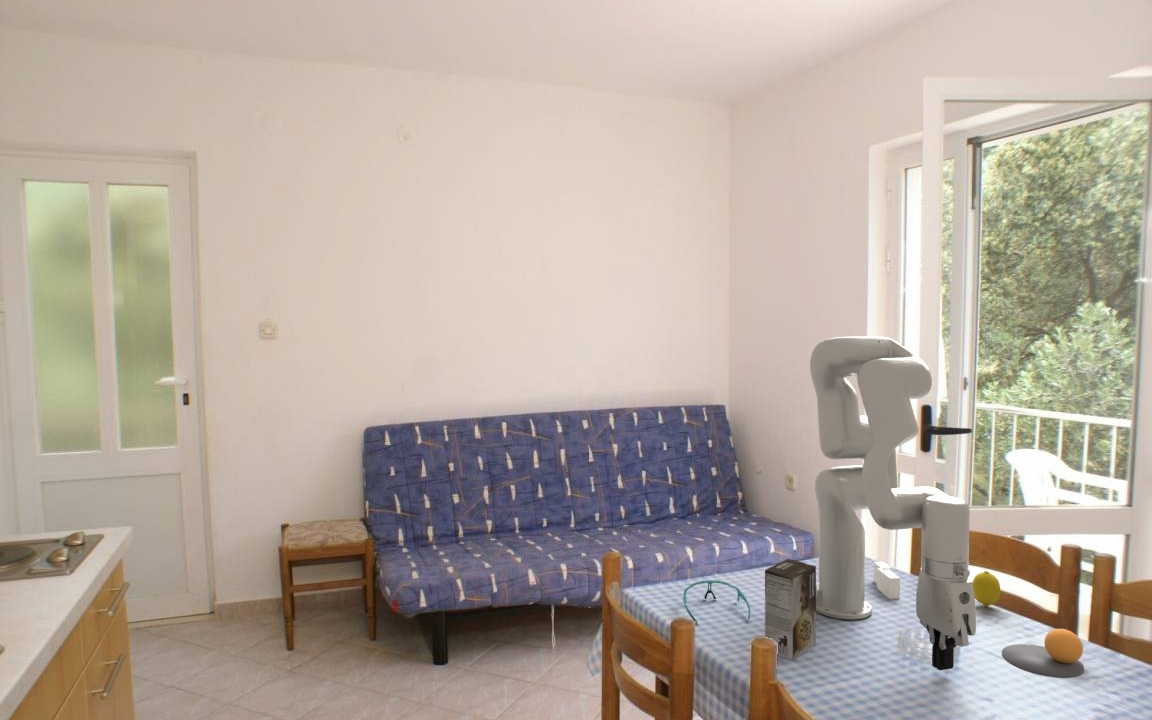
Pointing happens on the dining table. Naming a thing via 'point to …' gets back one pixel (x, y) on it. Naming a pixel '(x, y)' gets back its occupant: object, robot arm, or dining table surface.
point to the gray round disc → (1040, 661)
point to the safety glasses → (713, 594)
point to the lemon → (986, 588)
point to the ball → (1063, 645)
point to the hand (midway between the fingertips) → (942, 667)
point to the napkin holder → (886, 580)
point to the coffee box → (791, 607)
